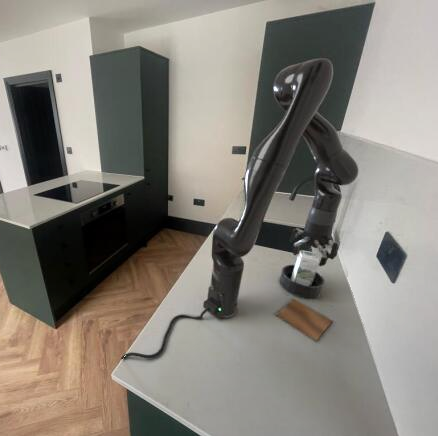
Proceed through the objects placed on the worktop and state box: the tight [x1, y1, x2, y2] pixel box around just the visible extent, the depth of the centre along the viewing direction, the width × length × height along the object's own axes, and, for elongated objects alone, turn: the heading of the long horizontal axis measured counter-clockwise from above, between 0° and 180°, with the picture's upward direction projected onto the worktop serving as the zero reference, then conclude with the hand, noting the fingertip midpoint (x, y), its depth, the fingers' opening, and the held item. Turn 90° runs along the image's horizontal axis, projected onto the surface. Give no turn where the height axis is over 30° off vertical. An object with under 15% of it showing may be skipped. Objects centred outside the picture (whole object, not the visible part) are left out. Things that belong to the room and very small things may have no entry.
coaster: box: [275, 299, 333, 342], centre depth 76 cm, size 12×12×1 cm
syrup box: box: [291, 249, 321, 287], centre depth 87 cm, size 6×6×14 cm
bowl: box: [278, 264, 325, 299], centre depth 89 cm, size 14×14×6 cm
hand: (307, 259), depth 85 cm, fingers open, 8 cm apart
